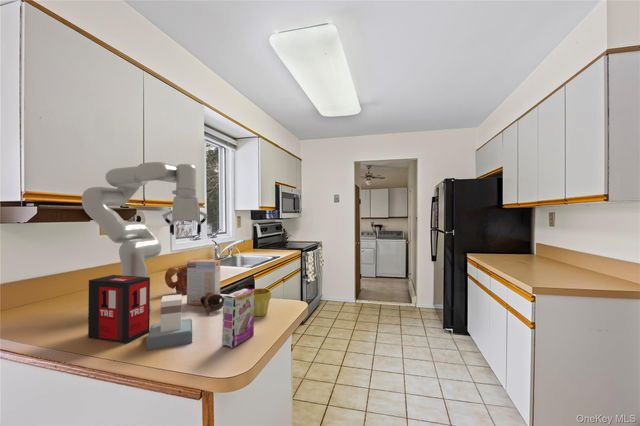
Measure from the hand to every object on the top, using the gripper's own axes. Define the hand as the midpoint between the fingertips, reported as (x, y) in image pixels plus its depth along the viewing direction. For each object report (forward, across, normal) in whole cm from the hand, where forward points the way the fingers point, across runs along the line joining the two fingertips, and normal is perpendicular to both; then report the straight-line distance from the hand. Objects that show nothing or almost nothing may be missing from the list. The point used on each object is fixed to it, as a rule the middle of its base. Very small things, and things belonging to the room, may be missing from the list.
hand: (185, 234), depth 119 cm
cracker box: (+34, +8, +14) cm, 38 cm away
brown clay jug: (+35, +11, +3) cm, 36 cm away
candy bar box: (+34, +17, -33) cm, 51 cm away
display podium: (+34, -4, -22) cm, 41 cm away
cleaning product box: (+35, -21, -12) cm, 42 cm away
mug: (+34, -3, +36) cm, 50 cm away
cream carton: (+30, -4, -22) cm, 38 cm away
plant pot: (+34, +29, -10) cm, 46 cm away
